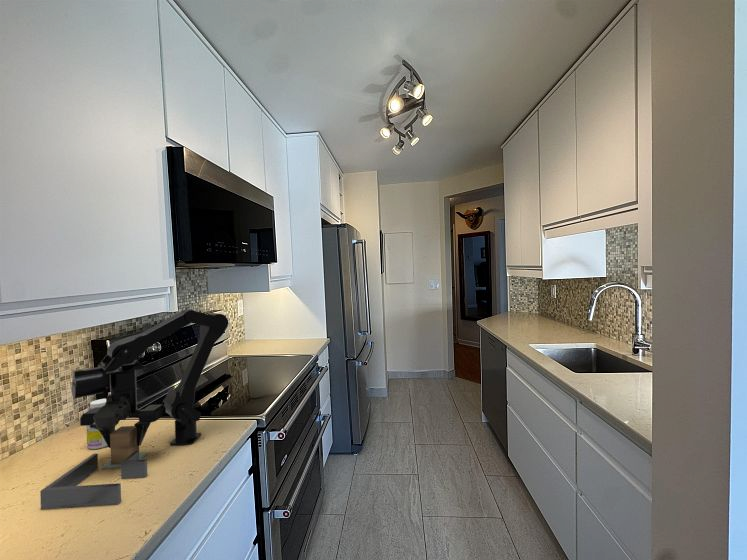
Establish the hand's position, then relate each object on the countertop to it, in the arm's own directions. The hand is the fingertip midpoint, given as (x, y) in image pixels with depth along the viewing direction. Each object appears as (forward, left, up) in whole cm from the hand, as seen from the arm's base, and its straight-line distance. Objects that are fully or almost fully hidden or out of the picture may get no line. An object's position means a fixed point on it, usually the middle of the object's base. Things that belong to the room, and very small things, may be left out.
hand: (125, 446), depth 93 cm
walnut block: (0, 0, -4) cm, 4 cm away
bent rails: (+11, +2, -4) cm, 12 cm away
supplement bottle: (-10, -13, -4) cm, 17 cm away
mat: (0, 0, -4) cm, 4 cm away
